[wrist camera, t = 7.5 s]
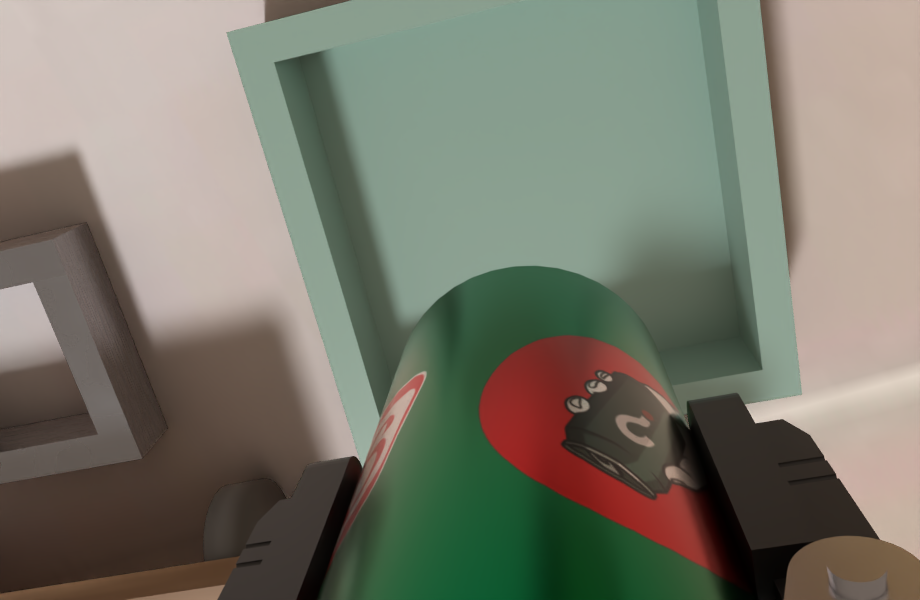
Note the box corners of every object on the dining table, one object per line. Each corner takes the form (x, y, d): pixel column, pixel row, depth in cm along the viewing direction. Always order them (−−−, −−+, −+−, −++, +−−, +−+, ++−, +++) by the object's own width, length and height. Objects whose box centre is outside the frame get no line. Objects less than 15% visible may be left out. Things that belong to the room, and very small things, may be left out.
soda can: (382, 271, 15) (12, 974, 4) (650, 240, 15) (1047, 962, 4) (423, 496, 17) (231, 1433, 6) (665, 477, 17) (968, 1475, 5)
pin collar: (-119, 269, 33) (-168, 288, 31) (86, 222, 32) (52, 239, 30) (-24, 463, 36) (-62, 494, 34) (167, 428, 35) (142, 458, 33)
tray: (264, 29, 29) (226, 32, 25) (717, -87, 27) (748, -102, 23) (380, 418, 34) (362, 469, 30) (769, 349, 32) (801, 394, 28)
